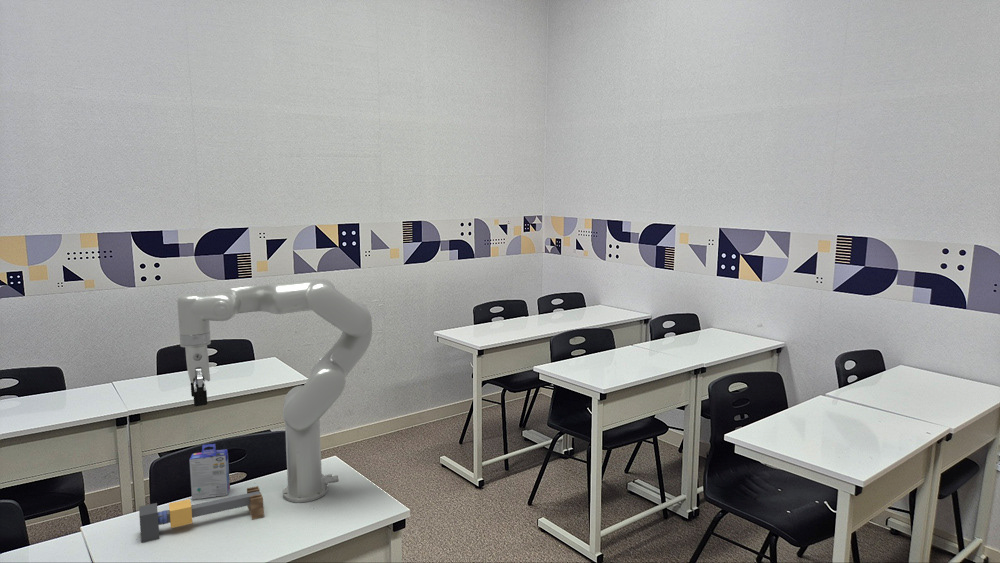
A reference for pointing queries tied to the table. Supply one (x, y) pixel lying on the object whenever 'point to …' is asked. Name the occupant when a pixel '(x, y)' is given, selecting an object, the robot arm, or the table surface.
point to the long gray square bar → (215, 506)
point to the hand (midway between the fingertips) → (199, 400)
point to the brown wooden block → (256, 504)
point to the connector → (149, 522)
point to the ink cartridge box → (209, 473)
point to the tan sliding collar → (180, 513)
